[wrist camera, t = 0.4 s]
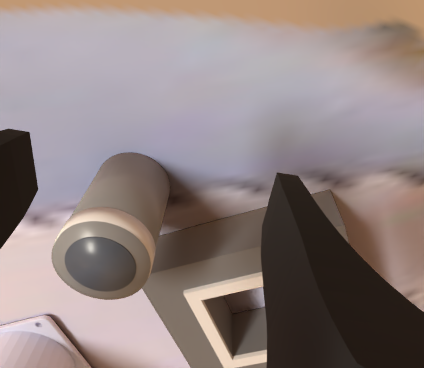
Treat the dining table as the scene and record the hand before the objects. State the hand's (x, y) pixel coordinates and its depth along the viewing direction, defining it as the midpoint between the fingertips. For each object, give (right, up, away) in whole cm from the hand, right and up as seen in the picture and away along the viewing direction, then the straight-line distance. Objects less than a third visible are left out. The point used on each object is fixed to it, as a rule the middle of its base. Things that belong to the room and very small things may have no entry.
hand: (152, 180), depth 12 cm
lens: (-3, 0, +12) cm, 12 cm away
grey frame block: (+5, -7, +15) cm, 17 cm away
